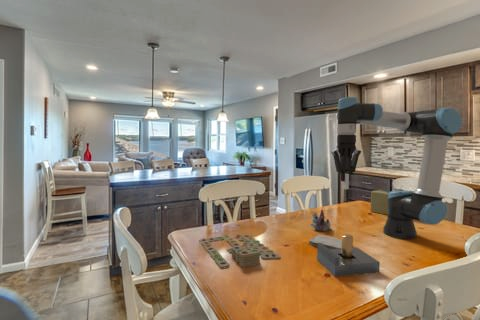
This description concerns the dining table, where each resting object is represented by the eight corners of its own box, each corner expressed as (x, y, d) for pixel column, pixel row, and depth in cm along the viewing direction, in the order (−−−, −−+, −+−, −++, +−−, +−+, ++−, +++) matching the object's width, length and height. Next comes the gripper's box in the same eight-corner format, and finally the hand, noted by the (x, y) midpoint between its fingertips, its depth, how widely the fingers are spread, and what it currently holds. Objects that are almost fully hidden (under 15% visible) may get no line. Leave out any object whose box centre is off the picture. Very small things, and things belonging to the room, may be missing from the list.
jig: (356, 256, 113) (357, 240, 112) (379, 272, 99) (379, 254, 98) (317, 259, 109) (317, 243, 109) (334, 276, 96) (335, 257, 95)
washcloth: (317, 238, 135) (317, 232, 135) (354, 247, 124) (354, 240, 123) (307, 245, 126) (307, 239, 126) (345, 255, 114) (345, 248, 114)
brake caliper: (331, 229, 140) (318, 209, 144) (315, 238, 145) (302, 219, 148) (336, 223, 150) (323, 205, 153) (320, 232, 155) (308, 214, 158)
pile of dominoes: (283, 260, 111) (283, 247, 110) (222, 273, 99) (222, 259, 99) (247, 233, 142) (247, 223, 142) (198, 241, 131) (198, 230, 131)
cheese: (410, 218, 169) (411, 195, 168) (399, 220, 165) (400, 196, 164) (379, 210, 189) (380, 189, 188) (369, 211, 186) (370, 190, 185)
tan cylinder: (348, 263, 106) (349, 234, 106) (354, 267, 102) (355, 237, 102) (339, 263, 106) (339, 234, 105) (344, 268, 102) (345, 238, 101)
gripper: (337, 134, 109) (335, 190, 110) (365, 134, 111) (364, 189, 112) (328, 134, 116) (327, 187, 118) (355, 134, 118) (353, 186, 120)
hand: (345, 188), depth 115 cm, fingers closed
